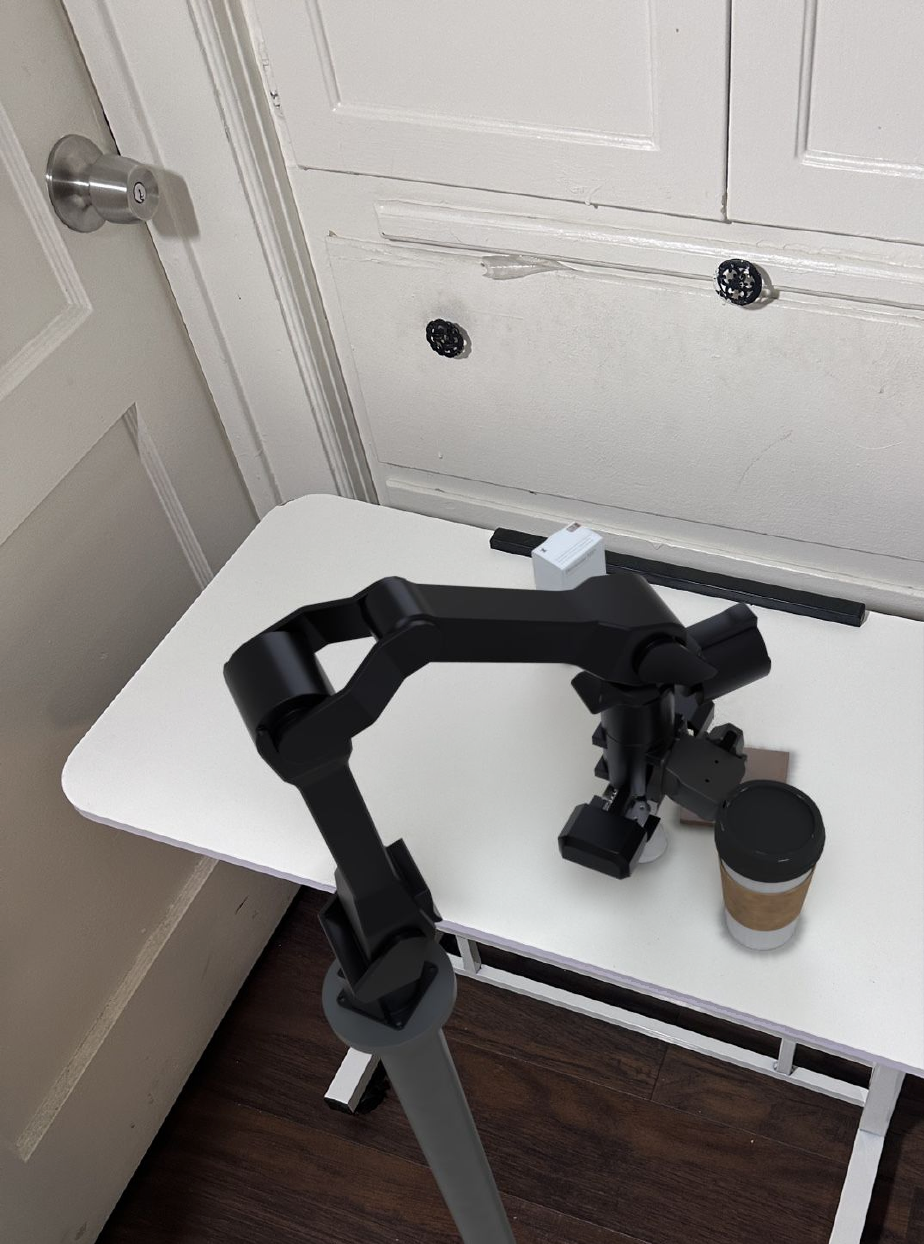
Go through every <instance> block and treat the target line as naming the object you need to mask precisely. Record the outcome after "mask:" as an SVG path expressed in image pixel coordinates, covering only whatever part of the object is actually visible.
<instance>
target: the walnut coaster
mask: <svg viewBox="0 0 924 1244" xmlns="http://www.w3.org/2000/svg"><path fill="white" fill-rule="evenodd" d="M742 754H746V755H748V757H747V763H746V765H745V767H746V772H745V774H744V776H743V778H742V780H741V782H740V784H742V783H744V782H746V781H751V780H760V779H765V780H775V781H779V782H783V783H786V784H787V780H788V779H787V778H788V768H789V760H790V752H789V751H781V750H773V749H765V748H753V747H745V746H744V747H743V749H742ZM680 810H681V811H680V815H679V823H680V824H685V825H694V826H695V825H696V826H704V827H713V828H714V825H715V821H716V820H715V821H713V822H707V821H704V820H702V819H700V818H699V817H698V816H697V815H696V814H694V813H693V812H691V811H689V810H687V809H686V808H684V807H682V806H681V809H680Z"/></svg>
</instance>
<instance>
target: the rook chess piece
mask: <svg viewBox="0 0 924 1244" xmlns="http://www.w3.org/2000/svg"><path fill="white" fill-rule="evenodd" d="M635 798H637V797H636V796H635ZM647 803H648V804H649V805H650V806H651V812H650V814H652V815H654V816H655V814H656V812H657V805H658V803H655V802H652V801H649V800H648V801H647ZM666 834H667V833H666V830H665V828H664V825H663V824H662V823H661V822H659V824H658V826H657V828H656V829H655V831H654V833H653V835H652V837H651V839H650V841H649V842H647V843H646V844H645V848H644V851H643V853H642V855H641V857H640V859H639V861H638V863H637V864H639V863H642V864H646V863H649V862H652V861H655V860H657V859H658V858H659V857H661V856H662V855H663V853H664V852H665V850H666V849H667V841H668V839H667V835H666Z"/></svg>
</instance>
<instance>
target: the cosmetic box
mask: <svg viewBox="0 0 924 1244" xmlns="http://www.w3.org/2000/svg"><path fill="white" fill-rule="evenodd" d="M530 553H531V554H530V555H531V561H532V570H533V577H534V584H535V590H550V591H563V590H571V589H573V588H575V587H576V586H577V585H579V584H580V583H581V582H583V581H584V580H586V579H587V578H589V577H593V576H601V575H607V566H606V554H605V553H606V552H605V540H604V537H603V536H601V535H600V534H598V533H596V532H594V531H592V530H591V529H589V528H587V527H585V526H584V525H582V524H579V523H578V522H576V521H574V520H573V521H571V522H570V523H569V524H567V525H566V526H565V527H563V528H561V529H560V530H557V531H555V533H552V534H551V535H550V536H548V538H547V539H546V540H545V541H543V542H542V543H541V544H540V545H538V546H537V547H535V548H534V549H533V550H531V552H530Z"/></svg>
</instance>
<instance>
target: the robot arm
mask: <svg viewBox="0 0 924 1244" xmlns="http://www.w3.org/2000/svg"><path fill="white" fill-rule="evenodd" d="M758 621H759V617H758V616H757V615H756V614H755V612H754V611H753V610H752V609H751V608H750V607H749V605H748V604H747V603H746V602H744V601H741V602H739V603H736V604H734V605H731V606H730V607H728V608H725V609H724V610H723V611H721V612H719V613H717V614H715V615H712V616H710V617H707V618H705V619H703V620H701V621H697V622H695V623H692V624H691V625H689V626H685V625H684V624H683V623H682V621H681V620H680V619H679V617H677V616H676V614H675V613H674V612H673V611H672V609H671V608H670V607H669V606H668V605H667V603H666V602H665V600H663V598H662V597H661V596H660V595H659V594H658V592H657V591H656V590H655V589H654V588H653V586H652V585H651V584H650V583H649V582H648V581H647V579H646V578H645V577H644V576H642V575H641V574H638V573H636V572H621V573H613V574H612V573H611V574H606V575H601V576H593V577H589V578H587V579H586V580H584V581H583V582H581V583H580V584H579V585H577V586H576V587H575V588H573V589H571V590H563V591H550V590H536V589H530V588H529V589H527V588H509V587H490V586H475V585H474V586H472V585H455V584H454V585H453V584H434V583H433V584H432V583H417V582H414V581H410V580H407V578H406V577H402V576H398V575H392V576H391V575H390V576H385V577H382V578H380V579H378V580H376V581H373V582H372V583H371V584H369V585H368V586H366V587H365V588H363V589H361V590H360V591H358V592H357V593H355V594H354V595H352V596H350V597H343V598H338V599H331V600H327V601H322V602H318V603H311V604H305V605H303V606H300V607H298V608H296V609H295V610H293V611H292V612H290V613H288V614H287V615H285V616H284V617H282V618H281V619H279V620H277V621H276V622H274V623H273V624H272V625H270V626H267V628H265V629H264V630H262V631H260V632H258V633H257V634H256V635H254V636H253V637H251V638H250V639H248V640H247V641H245V642H244V643H242V644H241V645H239V647H238V648H237V649H236V650H235V651H234V652H232V653H231V656H229V657H230V658H229V659H228V661H226V662H224V664H223V669H222V674H223V679H224V682H225V685H226V687H227V689H228V692H229V693H230V696H231V698H232V700H233V702H234V705H235V706H236V709H237V711H238V713H239V715H240V717H241V719H242V721H243V723H244V726H245V728H246V730H247V732H248V734H249V736H250V739H251V741H252V744H253V745H254V747H255V749H256V752H257V753H258V755H259V757H260V758H261V759H262V760H263V761H264V762H265V763H266V765H268V766H269V768H270V769H271V770H272V771H273V772H274V773H275V774H276V775H277V776H278V778H280V780H281V781H282V782H284V783H286V784H288V785H291V786H294V787H295V788H296V789H297V790H298V792H299V793H300V795H301V797H302V799H303V801H304V803H305V806H306V807H307V809H308V811H309V813H310V815H311V817H312V819H313V821H314V824H315V825H316V827H317V829H318V830H319V833H320V835H321V836H322V839H323V840H324V843H325V845H326V846H327V849H328V850H329V853H330V855H331V856H332V859H333V860H334V862H335V865H336V867H335V870H334V872H333V875H334V881H335V887H336V890H335V891H333V893H332V894H331V896H330V897H329V899H328V900H327V901H326V903H325V904H324V905H323V907H321V909H320V911H319V912H318V913H317V918H318V920H319V923H320V925H321V927H322V929H323V931H324V933H325V935H326V936H325V937H326V938H327V940H328V942H329V945H330V946H331V947H330V948H331V949H332V951H333V954H334V955H335V959H336V958H337V960H338V962H339V964H340V966H341V967H340V969H339V970H338V972H337V976H338V978H339V980H340V982H341V984H342V986H343V989H342V990H341V992H340V993H339V995H338V996H337V999H336V1001H337V1003H338V1005H339V1006H341V1007H343V1008H346V1009H348V1010H350V1011H353V1012H355V1013H357V1014H359V1015H362V1016H364V1017H366V1018H369V1019H371V1020H373V1021H376V1022H378V1023H380V1024H383V1025H385V1026H387V1027H390V1028H392V1029H394V1030H397V1031H400V1030H402V1029H404V1027H405V1026H406V1024H407V1022H408V1021H409V1019H410V1018H411V1016H412V1014H413V1013H414V1011H415V1009H416V1008H417V1006H418V1004H419V1003H420V1001H421V999H422V998H423V996H424V995H425V993H426V991H427V990H428V988H429V986H430V985H431V983H432V981H433V980H434V978H435V976H436V975H437V973H438V967H437V965H436V964H434V963H432V962H429V961H427V960H425V957H426V953H427V949H428V943H429V942H431V941H434V940H436V937H437V934H438V929H437V925H436V923H442V922H443V920H444V918H443V917H442V914H441V912H440V910H439V909H438V907H437V905H436V903H435V902H434V901H435V900H434V898H433V895H432V892H431V889H430V888H429V886H428V884H427V882H426V880H425V878H424V876H423V874H422V872H421V871H420V868H419V867H418V865H417V864H416V861H415V859H414V858H413V856H412V854H411V852H410V850H409V848H408V846H407V844H406V842H405V840H404V839H403V837H400V838H398V839H397V840H395V841H394V842H392V843H390V844H389V845H385V844H384V843H383V840H382V838H381V836H380V834H379V831H378V829H377V826H376V824H375V822H374V820H373V818H372V816H371V813H370V811H369V809H368V806H367V805H366V802H365V799H364V797H363V794H362V792H361V791H360V787H359V786H358V784H357V781H356V779H355V777H354V775H353V772H352V770H351V766H350V762H349V761H350V758H351V756H352V753H353V751H354V747H353V740H352V739H353V738H354V737H356V736H357V735H359V734H360V733H362V732H363V731H365V730H367V729H368V728H370V727H372V726H373V725H374V724H375V723H376V722H377V721H378V719H379V718H380V716H381V715H382V713H383V712H385V711H384V710H385V709H386V707H387V706H388V705H389V703H390V702H391V701H392V699H393V698H394V696H395V694H396V693H397V692H398V690H399V688H400V687H401V686H402V685H403V683H404V681H405V680H406V679H407V678H408V677H410V676H412V675H413V674H415V673H416V672H418V671H419V670H421V669H422V668H424V667H425V666H427V665H429V664H431V663H434V664H435V663H436V664H437V663H438V664H441V663H442V664H443V663H446V664H447V663H449V664H450V663H451V664H467V663H468V664H563V665H567V666H573V667H576V668H578V669H581V670H582V671H579V672H578V673H577V674H576V675H575V676H574V677H573V678H572V679H571V680H570V686H571V688H572V689H573V690H574V692H575V694H576V695H577V696H578V697H579V699H580V700H581V701H582V703H583V704H584V705H585V707H586V708H587V710H588V711H589V713H590V714H591V715H593V716H595V715H599V714H600V721H599V724H598V725H597V727H596V728H595V730H594V732H593V733H592V736H591V743H592V745H593V746H596V747H599V748H601V749H602V755H601V756H600V758H599V759H598V761H597V763H596V765H595V766H594V769H593V772H594V777H595V778H598V779H600V780H601V779H602V780H604V781H607V782H608V784H607V785H606V787H605V789H604V791H603V793H602V795H598V794H594V795H593V797H592V798H591V800H590V801H589V803H587V802H584V803H581V804H578V805H576V806H574V808H573V810H572V812H571V814H570V815H569V817H568V819H567V821H566V822H565V823H564V826H563V827H562V829H561V831H560V833H559V834H558V836H557V844H558V851H559V853H560V856H561V858H562V859H563V860H565V861H568V862H571V863H574V864H575V865H576V864H577V865H579V866H582V867H585V868H587V869H590V870H592V871H595V872H598V873H601V874H603V875H606V876H609V877H611V878H614V879H617V880H619V881H622V880H625V879H627V878H630V877H632V874H633V872H634V871H635V869H636V866H637V865H638V864H639V863H638V861H639V859H640V857H641V855H642V853H643V851H644V848H645V844H646V843H647V842H649V841H650V839H651V837H652V835H653V833H654V831H655V829H656V828H657V826H658V824H659V822H660V821H661V820H662V817H661V816H657V815H658V813H659V810H660V807H661V805H662V803H663V801H664V799H665V797H666V796H667V797H668V798H669V800H671V801H672V802H674V803H675V804H677V805H679V806H680V807H681V808H682V807H684V808H686V809H687V810H689V811H691V812H693V813H694V814H696V815H697V816H698V817H699V818H700V819H702V820H704V821H707V822H713V821H715V820H716V817H717V815H718V813H719V808H720V803H721V802H722V800H723V799H724V798H725V796H726V795H727V794H728V793H729V792H730V791H731V790H732V789H733V788H735V787H736V786H738V785H739V784H740V782H741V780H742V778H743V776H744V774H745V772H746V767H745V765H746V763H747V757H748V755H746V754H742V749H743V747H745V736H744V731H743V729H741V728H740V727H739V726H736V725H735V724H733V723H731V722H725V723H723V724H720V725H716V726H714V727H712V728H711V730H710V731H709V732H708V730H709V728H710V726H711V724H712V722H713V720H714V718H715V708H716V707H715V706H716V705H715V702H714V701H715V700H717V699H719V698H721V697H723V696H725V695H729V694H730V693H732V692H735V691H737V690H740V689H742V688H743V687H746V686H748V685H750V684H752V683H754V682H757V681H759V680H761V679H763V678H765V677H768V676H769V675H770V673H771V670H772V659H771V657H770V656H769V653H768V648H767V645H766V642H765V639H764V637H763V635H762V633H761V631H760V629H759V627H758ZM366 638H373V639H374V640H375V644H374V645H372V647H371V648H370V650H369V651H368V652H367V654H366V656H365V657H364V658H363V660H362V661H361V662H360V664H359V666H357V669H356V670H355V671H354V673H353V674H352V675H351V677H350V678H349V680H347V683H346V684H345V685H344V687H343V688H341V689H340V690H338V691H337V692H336V690H335V687H334V686H333V684H332V682H331V680H330V678H329V676H328V675H327V673H326V670H325V669H324V667H323V665H322V663H321V661H320V659H319V658H318V655H317V654H316V653H318V652H320V651H321V650H322V649H324V648H326V647H327V646H329V645H332V644H338V643H344V642H349V641H355V640H361V639H366ZM689 730H690V731H692V734H690V732H689ZM635 796H636V797H637V798H635ZM648 800H649V801H652V802H655V803H658V805H657V812H656V814H655V816H654V815H652V814H650V812H651V806H650V805H649V804H648V803H647V801H648ZM660 823H661V822H660ZM431 968H434V969H435V970H434V971H430V969H431ZM343 998H344V999H345V1000H344V1001H343V1002H341V999H343ZM399 1022H400V1023H401V1025H400V1026H396V1024H397V1023H399Z"/></svg>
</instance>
